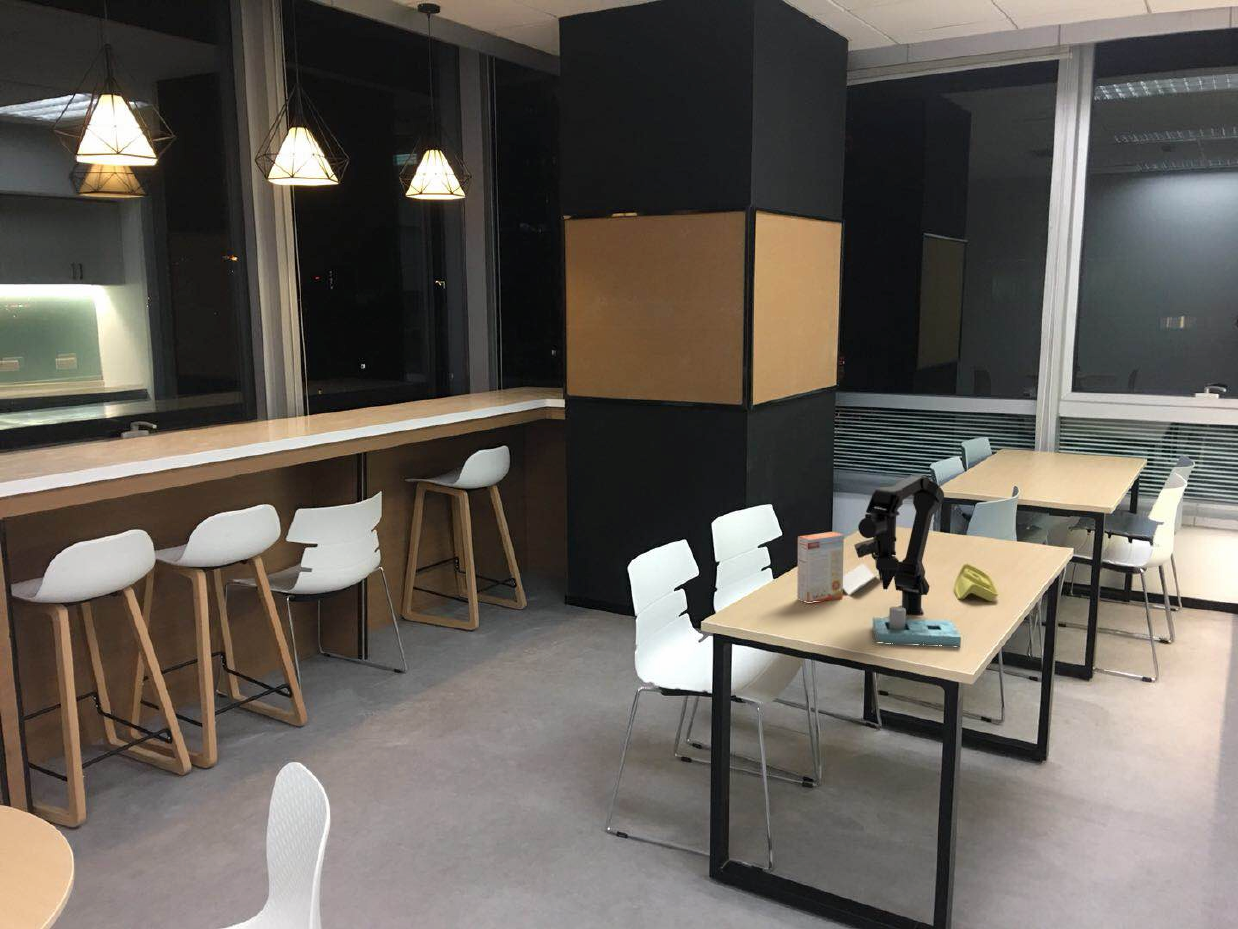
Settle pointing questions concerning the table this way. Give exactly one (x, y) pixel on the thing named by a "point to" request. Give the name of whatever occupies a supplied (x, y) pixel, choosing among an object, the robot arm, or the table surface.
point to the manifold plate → (918, 632)
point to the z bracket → (857, 579)
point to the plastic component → (974, 584)
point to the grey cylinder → (897, 618)
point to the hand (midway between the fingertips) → (883, 584)
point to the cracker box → (820, 567)
